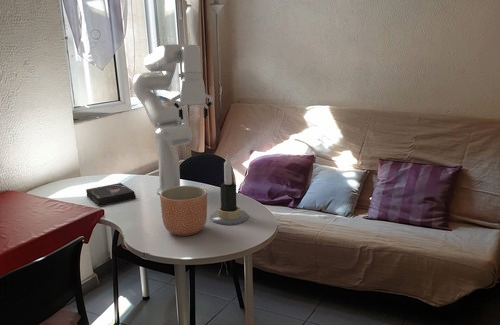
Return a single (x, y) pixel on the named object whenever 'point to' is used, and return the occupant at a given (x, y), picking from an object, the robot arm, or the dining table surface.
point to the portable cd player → (110, 194)
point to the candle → (228, 189)
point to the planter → (184, 209)
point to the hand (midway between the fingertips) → (193, 118)
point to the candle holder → (229, 216)
